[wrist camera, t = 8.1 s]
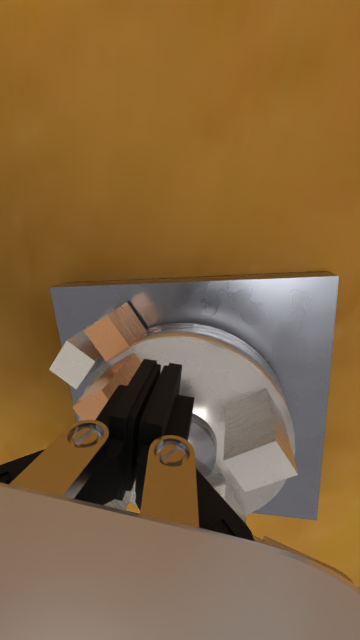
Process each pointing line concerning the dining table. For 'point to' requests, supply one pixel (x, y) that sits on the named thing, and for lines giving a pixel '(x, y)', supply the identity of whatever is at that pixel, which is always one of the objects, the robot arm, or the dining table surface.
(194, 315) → the base plate
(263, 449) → the round disc with cubes
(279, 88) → the dining table surface
